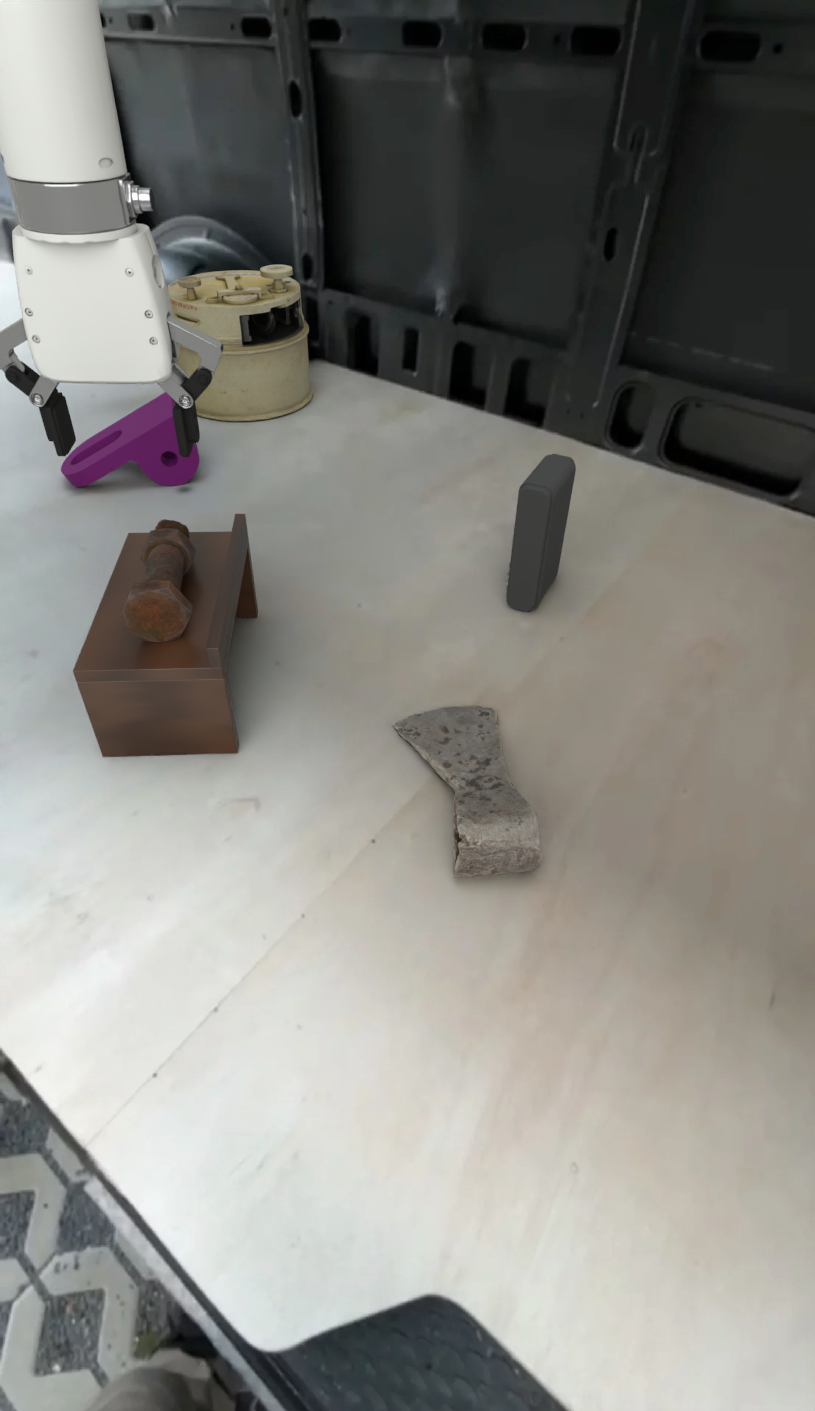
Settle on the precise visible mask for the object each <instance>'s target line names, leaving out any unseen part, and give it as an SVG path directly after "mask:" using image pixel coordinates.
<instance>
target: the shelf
mask: <svg viewBox="0 0 815 1411" xmlns="http://www.w3.org/2000/svg"><path fill="white" fill-rule="evenodd" d="M232 522H233V523H232V527H231V531H189V534H188V535H190V536H189V540H190V542H191V543H192V544H193V546H194V547H195V549H196V553H195V557H194V560H193V562H192V564H191V567H190V569H189V571H188V573H187V575H186V576H185V577H183V578H182V584H181V589H180V592H181V593H182V594H183V595H184V596H185V597H186V599H187V600H188V601H189V602H190V603H191V604H192V605H193V606H192V613H191V615H190V618H189V620H188V623H187V625H186V627H185V629H184V631H183V633H182V635H181V636H180V638H178V639H175V640H171V641H166V642H150V641H144V640H143V639H141V638H139V637H138V636H136V635H135V634H134V633H133V632H132V631H131V630H130V629H129V628H128V627H127V626H126V625H125V623H124V622H123V621H122V619H121V618H120V614H121V610H122V608H123V605H124V603H125V600H126V598H127V596H128V593H129V591H130V588H131V586H132V584H133V582H143V580H144V576H145V570H146V566H145V565H144V564H143V562H142V561H141V559H140V556H141V552H142V549H143V547H144V544H145V542H146V539H147V537H148V535H149V533H150V532H128V534H127V535H126V537H125V541H124V543H123V545H122V548H121V550H120V553H119V556H118V558H117V560H116V563H115V564H114V568H113V570H112V573H111V575H110V576H109V579H108V582H107V585H106V587H105V590H104V593H103V595H102V597H101V600H100V603H99V605H98V607H97V610H96V613H95V615H94V617H93V620H92V622H91V625H90V627H89V630H88V632H87V635H86V637H85V640H84V642H83V645H82V647H81V649H80V652H79V654H78V656H77V660H76V661H75V664H74V667H73V670H72V673H73V676H74V679H75V682H76V684H77V687H78V690H79V693H80V696H81V699H82V701H83V704H84V707H85V711H86V713H87V716H88V719H89V722H90V725H91V727H92V730H93V733H94V736H95V740H96V742H97V744H98V747H99V748H98V749H99V751H100V754H101V757H102V758H105V757H106V758H113V757H114V758H115V757H147V756H149V757H150V756H184V755H185V756H186V755H187V756H189V755H190V756H191V755H219V754H223V755H224V754H225V755H227V754H238V753H239V747H240V742H239V736H238V731H237V724H236V719H235V713H234V707H233V702H232V697H231V696H232V695H231V690H230V685H229V679H228V674H227V666H228V660H229V654H230V648H231V645H232V644H231V643H232V637H233V632H234V627H235V621H236V619H240V618H241V619H242V618H244V619H245V618H246V619H247V618H249V619H250V618H258V617H259V616H258V614H259V606H258V600H257V592H256V585H255V577H254V570H253V562H252V554H251V548H250V539H249V533H248V532H249V531H248V524H247V516H246V513H235V514H234V517H233V521H232Z"/></svg>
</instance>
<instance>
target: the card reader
mask: <svg viewBox="0 0 815 1411" xmlns="http://www.w3.org/2000/svg"><path fill="white" fill-rule="evenodd" d="M576 472H577V467H576V463H575V460H574V459H573V458H572V457H570V456H566V455H563V454H559V453H551V454H547V455H545V456H544V457H543V458H542V459H541V461H540V462H539V463H538V464H537V465H536V467H535V468H534V469H533V470H532V471H531V473H530V474H529V475H528V476H527V477H526V478H525V480H523V482H522V484H520V486H519V488H518V495H517V501H516V502H517V503H516V509H515V510H516V511H515V517H514V518H515V520H514V527H513V537H512V544H511V553H510V560H509V564H508V571H507V575H508V577H507V579H506V582H507V585H506V588H505V589H506V596H505V597H506V599H505V600H506V603H507V605H508V606H509V607H510V608H513V609H517V610H518V611H519V610H520V611H523V612H530V611H532V610H536V609H537V607H538V606H539V604H541V602H542V600H543V598H544V597H545V595H546V594H547V592H548V591H549V589H550V588H551V586H552V585H553V583H554V581H555V580H556V578H557V576H558V574H559V570H560V569H559V568H560V565H561V564H560V562H561V559H562V558H561V556H562V551H563V546H564V541H565V540H564V539H565V534H566V528H567V522H568V517H569V513H570V512H569V511H570V506H571V500H572V494H573V489H574V482H575V477H576Z"/></svg>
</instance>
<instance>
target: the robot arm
mask: <svg viewBox="0 0 815 1411" xmlns="http://www.w3.org/2000/svg"><path fill="white" fill-rule="evenodd" d="M114 94H115V93H114V88H113V83H112V77H111V72H110V65H109V60H108V54H107V48H106V43H105V36H104V29H103V25H102V19H101V12H100V8H99V3H98V0H0V157H1V160H2V165H3V167H4V168H3V169H4V172H5V174H6V180H7V183H8V186H9V190H10V193H11V198H12V202H13V205H14V209H15V213H16V217H17V221H18V224H17V225H16V226H15V227H14V228H13V229H12V231H11V239H12V242H11V243H12V251H13V252H12V254H13V255H12V256H13V263H14V264H13V266H14V273H15V280H16V288H17V295H18V300H19V301H18V302H19V306H20V307H19V308H20V311H21V316H22V317H21V318H20V319H18V320H17V321H14V322H13V323H12V324H10V325H8V326H6V327H5V328H3V329H2V330H0V371H2V372H3V373H4V376H5V378H6V380H7V381H8V383H9V384H11V385H12V386H14V387H15V388H17V389H18V390H19V391H20V392H22V393H23V394H24V395H26V396H28V399H29V402H30V403H31V404H32V405H33V406H34V407H37V408H38V410H39V414H40V417H41V420H42V425H43V428H44V431H45V436H46V439H47V440H48V442H53V446H54V449H55V452H56V456H57V457H67V456H69V454H70V453H71V450H72V448H73V447H74V445H75V443H76V441H77V436H76V434H75V429H74V425H73V421H72V418H71V414H70V410H69V406H68V402H67V399H66V396H65V395H63V392H62V391H60V392H59V390H58V386H59V384H61V383H63V384H86V385H87V384H88V385H89V384H91V385H92V384H93V385H94V384H95V385H154V384H157V385H158V386H159V388H161V389H162V390H163V392H164V393H165V392H166V393H167V394H168V395H169V396H170V397H171V398H172V399H173V400H175V405H174V407H173V411H172V413H173V419H174V425H175V431H176V437H177V443H178V448H179V454H180V455H181V456H182V457H190V454H191V451H192V448H193V445H194V443H196V444H198V443H199V442H200V438H201V436H200V435H201V434H200V433H201V432H200V426H199V418H198V415H197V411H196V405H195V401H196V399H197V398H198V397H199V396H200V395H201V394H202V393H203V392H204V390H205V389H206V388H207V387H208V386H209V385H210V383H211V381H212V378H213V375H214V373H215V370H216V368H217V365H218V363H219V360H220V357H221V355H222V352H223V348H224V347H223V344H222V342H220V341H219V340H217V339H215V338H213V337H211V336H209V335H207V334H205V333H204V332H202V331H200V330H198V329H196V328H194V327H192V326H190V325H188V324H186V323H184V322H182V321H180V320H178V319H176V318H175V317H174V315H173V310H172V306H171V301H170V297H169V292H168V288H167V287H168V285H167V281H166V277H165V273H164V269H163V266H162V262H161V259H160V256H159V252H158V249H157V245H156V243H155V240H154V237H153V234H152V232H151V229H150V226H148V225H147V224H145V223H137V220H136V219H137V218H138V216H139V215H140V214H144V212H154V211H155V197H154V192H153V190H152V187H141V186H140V185H139V184H135V181H134V180H132V174H131V172H128V168H127V163H126V158H125V153H124V152H125V151H124V145H123V140H122V134H121V128H120V122H119V116H118V111H117V110H118V109H117V106H116V101H115V95H114ZM26 341H27V344H28V347H29V351H30V354H31V358H32V360H33V365H34V366H35V369H36V371H37V372H36V371H35V370H34V369H33V368H31V367H30V366H29V365H27V364H26V363H25V362H23V361H22V360H20V359H19V356H18V355H17V354H16V352H15V348H16V347H18V346H20V345H21V344H23V343H25V342H26ZM179 344H180V345H182V346H184V347H186V348H188V349H190V350H192V351H194V352H196V353H197V354H199V356H200V358H201V362H200V365H199V367H198V368H197V369H196V370H195V372H194V373H193V374H192V375H191V376H189V375H188V374H187V373H186V372H185V371H184V370H183V369H182V368H181V367H180V366H179V365H178V364H177V363H176V361H177V360H179V355H180V348H179Z"/></svg>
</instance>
